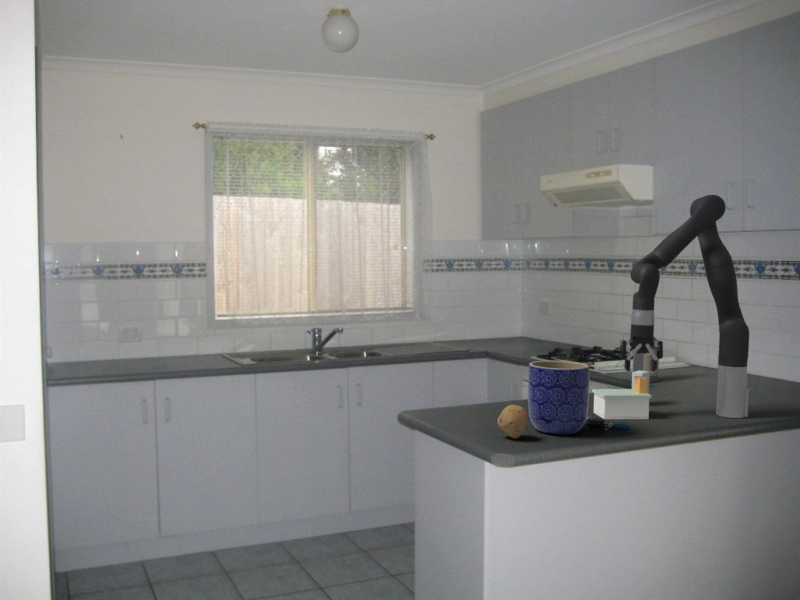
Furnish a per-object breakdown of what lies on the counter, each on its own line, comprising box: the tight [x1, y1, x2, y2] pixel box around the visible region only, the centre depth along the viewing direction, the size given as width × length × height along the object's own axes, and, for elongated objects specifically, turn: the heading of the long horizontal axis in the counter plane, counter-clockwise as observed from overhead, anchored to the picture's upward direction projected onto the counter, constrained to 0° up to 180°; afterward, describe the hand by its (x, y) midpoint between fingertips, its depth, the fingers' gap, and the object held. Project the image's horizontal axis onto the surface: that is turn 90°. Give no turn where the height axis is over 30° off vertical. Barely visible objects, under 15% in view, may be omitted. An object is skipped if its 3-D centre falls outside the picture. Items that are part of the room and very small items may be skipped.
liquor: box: [632, 336, 660, 384], centre depth 357 cm, size 9×9×30 cm
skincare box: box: [631, 370, 650, 394], centre depth 305 cm, size 6×4×12 cm
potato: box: [496, 404, 529, 439], centre depth 250 cm, size 9×9×10 cm
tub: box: [593, 393, 650, 420], centre depth 285 cm, size 15×11×7 cm
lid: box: [591, 376, 652, 399], centre depth 284 cm, size 16×12×7 cm
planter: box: [527, 360, 591, 436], centre depth 260 cm, size 18×18×21 cm
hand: (640, 371), depth 285 cm, fingers open, 8 cm apart
